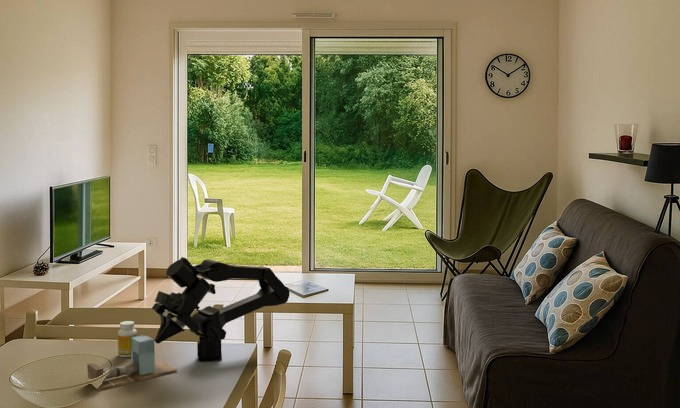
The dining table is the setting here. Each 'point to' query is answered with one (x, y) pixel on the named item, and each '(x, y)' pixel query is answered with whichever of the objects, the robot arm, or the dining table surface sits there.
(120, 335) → the supplement bottle
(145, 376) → the pipe rig
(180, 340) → the dining table surface
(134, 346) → the light blue upright block
